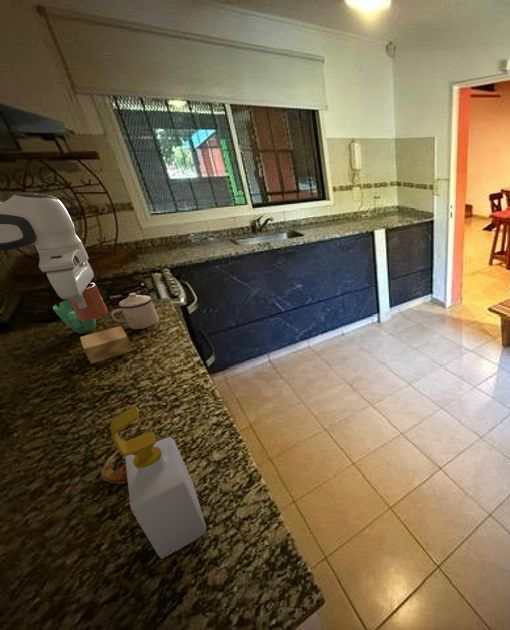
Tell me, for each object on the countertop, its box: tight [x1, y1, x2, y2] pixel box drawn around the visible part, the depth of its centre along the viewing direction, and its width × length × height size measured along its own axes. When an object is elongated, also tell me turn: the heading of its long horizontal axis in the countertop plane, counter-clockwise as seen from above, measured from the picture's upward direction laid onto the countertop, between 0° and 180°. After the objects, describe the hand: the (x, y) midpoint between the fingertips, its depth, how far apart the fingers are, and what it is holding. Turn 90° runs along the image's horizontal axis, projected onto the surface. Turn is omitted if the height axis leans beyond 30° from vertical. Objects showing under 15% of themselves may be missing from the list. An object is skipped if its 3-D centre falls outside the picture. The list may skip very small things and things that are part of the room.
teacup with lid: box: [110, 292, 160, 330], centre depth 118 cm, size 12×9×12 cm
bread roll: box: [100, 434, 164, 485], centre depth 68 cm, size 11×11×5 cm
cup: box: [68, 282, 109, 320], centre depth 98 cm, size 7×7×9 cm
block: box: [79, 325, 134, 364], centre depth 105 cm, size 10×10×5 cm
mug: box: [52, 299, 97, 334], centre depth 114 cm, size 15×10×10 cm
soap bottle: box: [110, 405, 207, 560], centre depth 53 cm, size 12×7×23 cm, turn 41°
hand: (87, 302), depth 98 cm, fingers closed on cup, 6 cm apart
